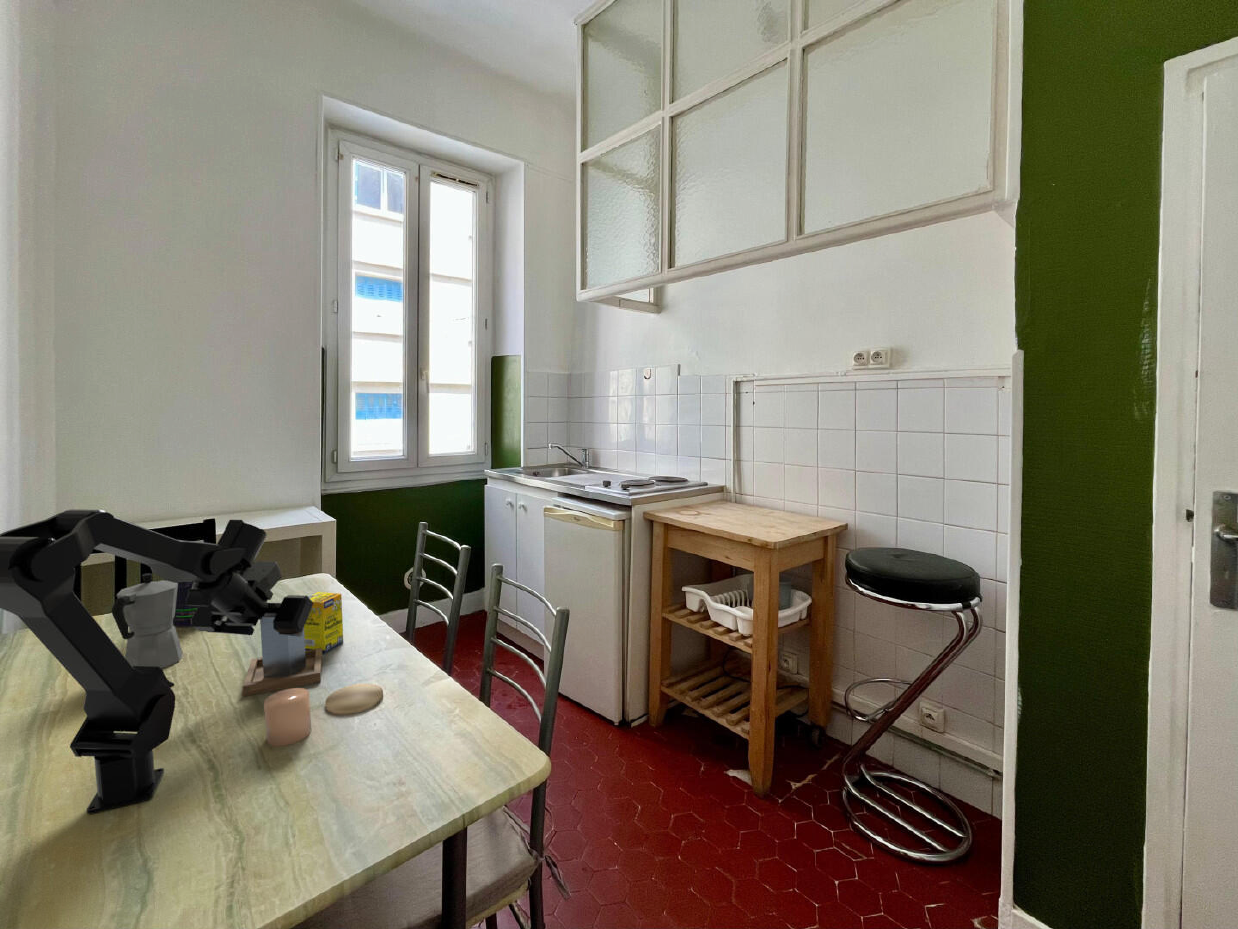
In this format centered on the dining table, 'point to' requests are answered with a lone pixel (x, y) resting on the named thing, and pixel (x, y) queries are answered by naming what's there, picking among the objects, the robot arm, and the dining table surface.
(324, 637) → the supplement box
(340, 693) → the cork coaster
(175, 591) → the coffeepot
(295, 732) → the pink rounded cylinder
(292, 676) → the walnut tray
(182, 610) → the storage jar
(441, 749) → the dining table surface
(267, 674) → the tea tin
